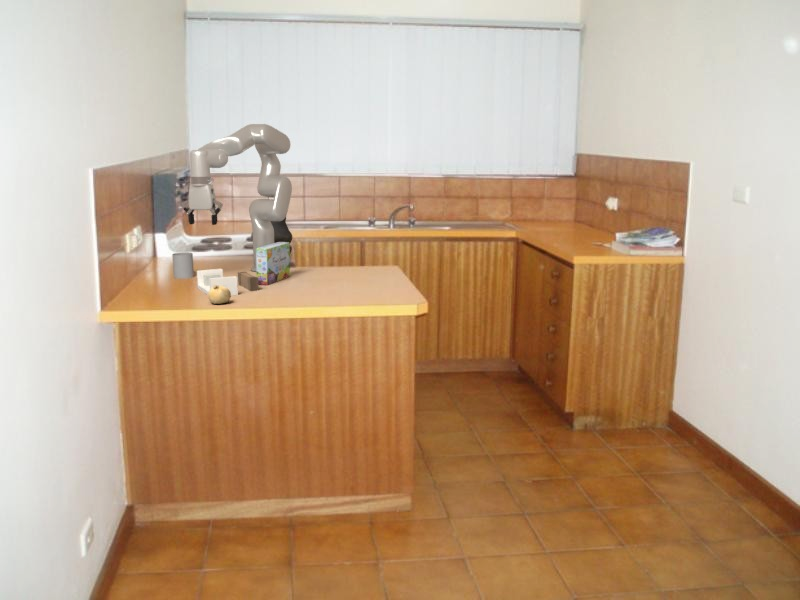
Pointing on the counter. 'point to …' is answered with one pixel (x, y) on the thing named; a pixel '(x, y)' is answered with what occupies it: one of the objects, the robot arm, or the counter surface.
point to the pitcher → (280, 231)
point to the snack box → (273, 262)
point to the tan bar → (248, 281)
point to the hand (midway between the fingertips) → (203, 224)
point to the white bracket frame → (215, 280)
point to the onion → (219, 294)
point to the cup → (183, 265)
